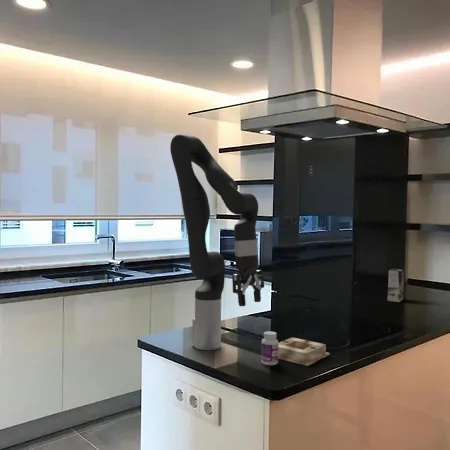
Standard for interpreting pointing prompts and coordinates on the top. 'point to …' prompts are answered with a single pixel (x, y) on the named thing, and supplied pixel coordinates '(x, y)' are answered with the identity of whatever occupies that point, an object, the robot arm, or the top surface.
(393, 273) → the coffee box
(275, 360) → the pill bottle
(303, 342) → the holder
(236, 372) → the top surface
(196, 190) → the robot arm
